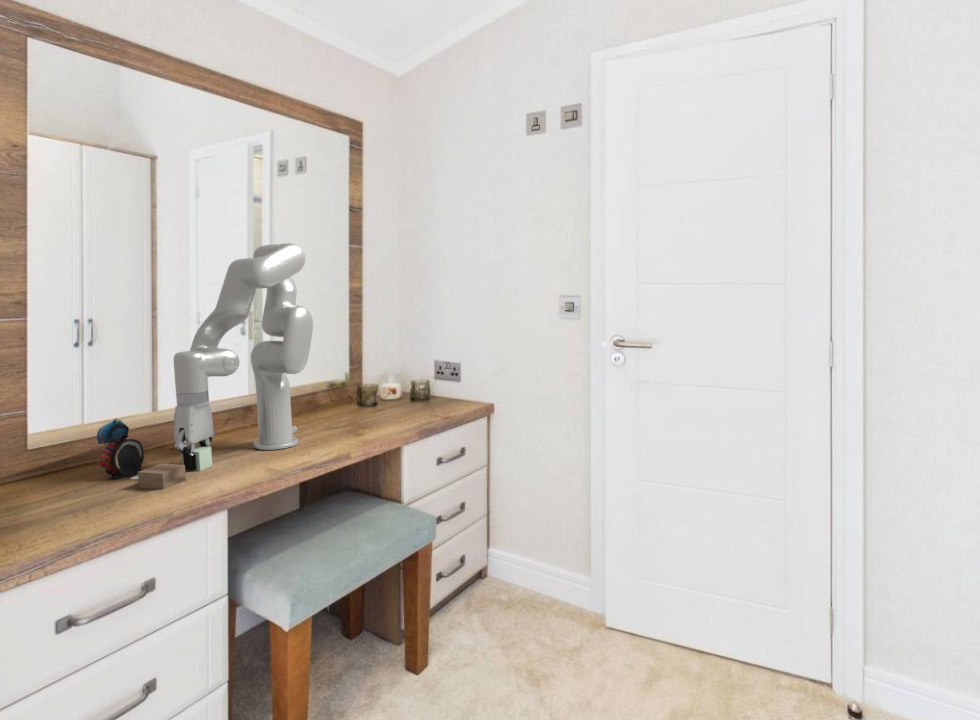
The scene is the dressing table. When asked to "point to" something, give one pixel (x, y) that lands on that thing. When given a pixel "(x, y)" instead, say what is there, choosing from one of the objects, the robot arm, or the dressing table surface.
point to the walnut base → (161, 476)
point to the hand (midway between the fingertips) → (197, 465)
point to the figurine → (119, 451)
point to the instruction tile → (135, 477)
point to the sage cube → (202, 458)
